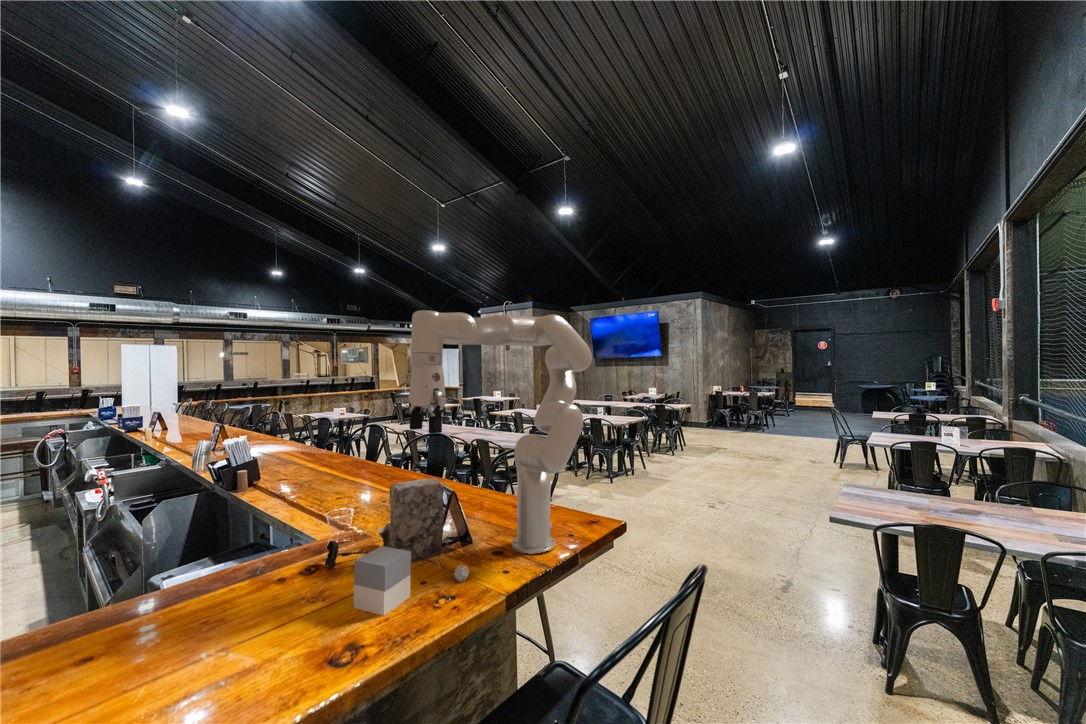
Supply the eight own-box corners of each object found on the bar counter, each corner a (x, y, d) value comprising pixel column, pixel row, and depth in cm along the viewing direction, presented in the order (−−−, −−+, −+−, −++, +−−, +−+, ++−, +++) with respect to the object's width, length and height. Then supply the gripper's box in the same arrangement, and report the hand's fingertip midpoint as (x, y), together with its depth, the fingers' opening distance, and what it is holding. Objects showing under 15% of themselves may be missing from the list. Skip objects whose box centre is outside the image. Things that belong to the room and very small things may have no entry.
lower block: (381, 590, 96) (381, 568, 96) (410, 597, 93) (410, 574, 93) (353, 608, 88) (354, 584, 88) (383, 616, 85) (384, 591, 86)
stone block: (395, 568, 106) (396, 488, 107) (386, 559, 112) (388, 482, 112) (444, 555, 114) (445, 480, 115) (434, 547, 120) (435, 476, 121)
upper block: (381, 568, 96) (382, 546, 96) (410, 574, 93) (410, 551, 93) (354, 584, 88) (354, 560, 89) (384, 591, 85) (385, 566, 86)
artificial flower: (319, 568, 110) (322, 527, 113) (403, 555, 124) (404, 519, 127) (330, 570, 103) (332, 526, 107) (417, 556, 118) (417, 518, 121)
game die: (455, 584, 98) (455, 571, 98) (452, 577, 102) (452, 565, 102) (470, 581, 100) (470, 568, 100) (466, 575, 103) (467, 562, 103)
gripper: (458, 361, 101) (457, 433, 100) (424, 362, 113) (422, 426, 112) (430, 359, 95) (428, 436, 95) (397, 361, 108) (395, 428, 107)
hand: (425, 431), depth 104 cm, fingers open, 9 cm apart
